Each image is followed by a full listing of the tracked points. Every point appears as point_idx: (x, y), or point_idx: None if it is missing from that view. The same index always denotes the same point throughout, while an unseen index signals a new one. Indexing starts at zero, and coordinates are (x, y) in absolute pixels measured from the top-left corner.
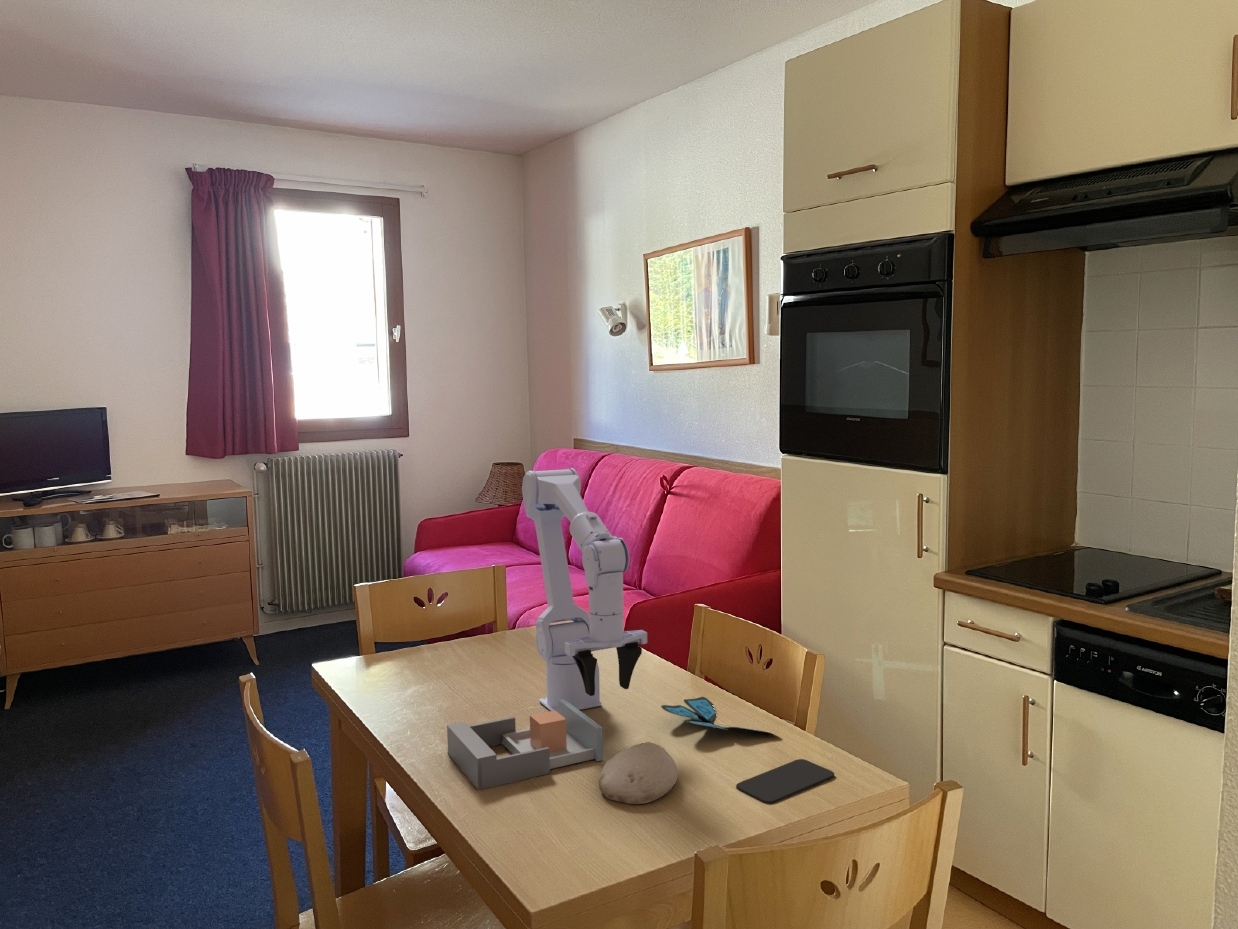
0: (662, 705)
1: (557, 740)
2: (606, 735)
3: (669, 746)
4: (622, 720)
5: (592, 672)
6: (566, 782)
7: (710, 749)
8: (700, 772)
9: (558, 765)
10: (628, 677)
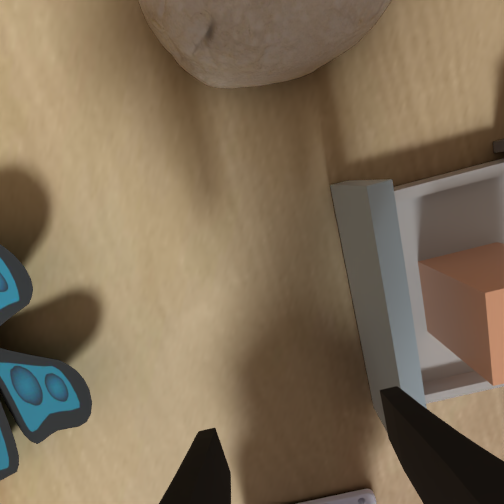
0: (85, 420)
1: (467, 263)
2: (276, 347)
3: (122, 237)
4: (213, 425)
5: (501, 494)
6: (467, 67)
7: (7, 186)
8: (64, 26)
9: (466, 168)
10: (188, 479)
